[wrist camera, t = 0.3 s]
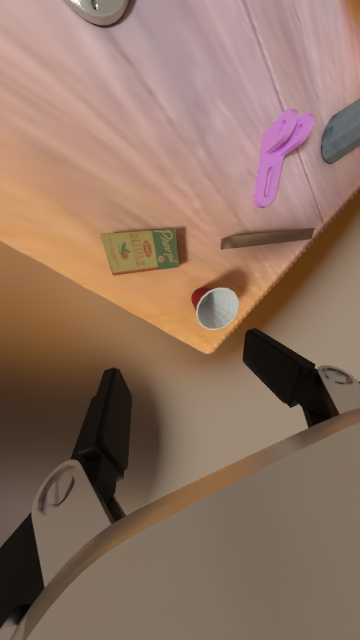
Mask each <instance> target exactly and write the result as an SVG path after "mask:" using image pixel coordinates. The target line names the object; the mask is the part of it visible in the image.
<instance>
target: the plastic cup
mask: <svg viewBox="0 0 360 640" xmlns="http://www.w3.org/2000/svg"><path fill="white" fill-rule="evenodd" d="M192 303H193V305H194V307H195V310H196V316H197V320H198V322H199V323H200V324H201V325H202V327H204V328H206V329H209V330H218V329H221V328H224V327H226V326H227V325H228V324H230V323H231V322H232V321H233V319H234V318H235V316H236V315H237V312H238V309H239V301H238V297H237V296H236V294H235V292H234V291H232V290H230V289H228V288H215V289H207V288H200V289H197V290H196V291H195V292H194V293H193V295H192Z"/></svg>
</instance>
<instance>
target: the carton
mask: <svg viewBox="0 0 360 640" xmlns="http://www.w3.org/2000/svg"><path fill="white" fill-rule="evenodd" d="M100 235H101V239H102V242H103V245H104V248H105V251H106V255H107V258H108V261H109V265H110V268H111V271H112V274H113V275H121V274H128V273H136V272H144V271H151V270H159V269H168V268H175V267H179V266H180V265H179V256H178V246H177V233H176V229H161V230H148V231H135V232H121V233H106V234H100Z"/></svg>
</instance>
